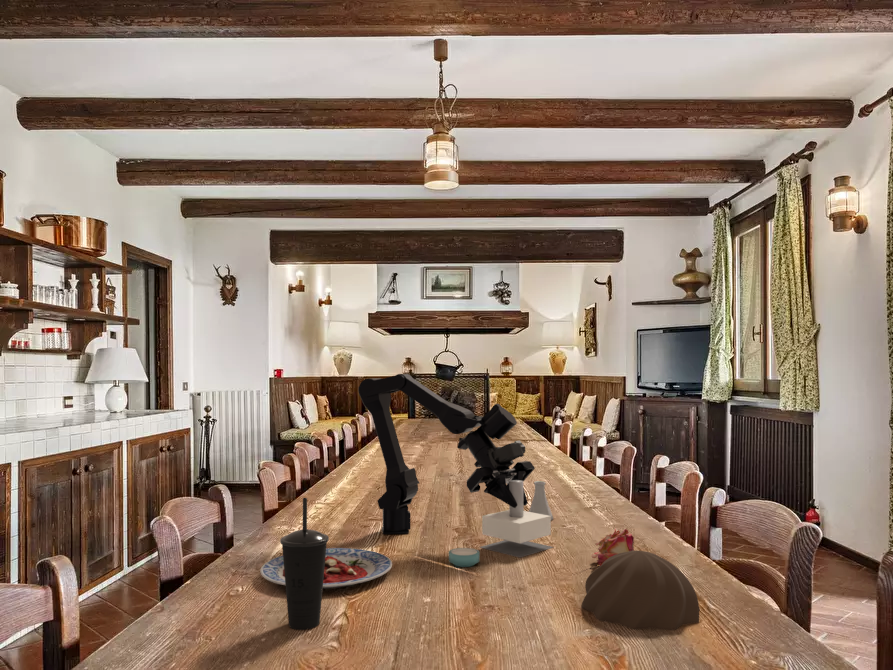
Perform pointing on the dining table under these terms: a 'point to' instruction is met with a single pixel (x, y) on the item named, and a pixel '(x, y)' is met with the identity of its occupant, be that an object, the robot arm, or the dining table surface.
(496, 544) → the charcoal rubber mat
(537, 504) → the flask
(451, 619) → the dining table surface
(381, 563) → the ceramic plate
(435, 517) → the dining table surface
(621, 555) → the decorative dome
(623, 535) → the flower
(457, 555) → the teal ceramic bowl
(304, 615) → the drinking cup
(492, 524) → the cream bowl cover
